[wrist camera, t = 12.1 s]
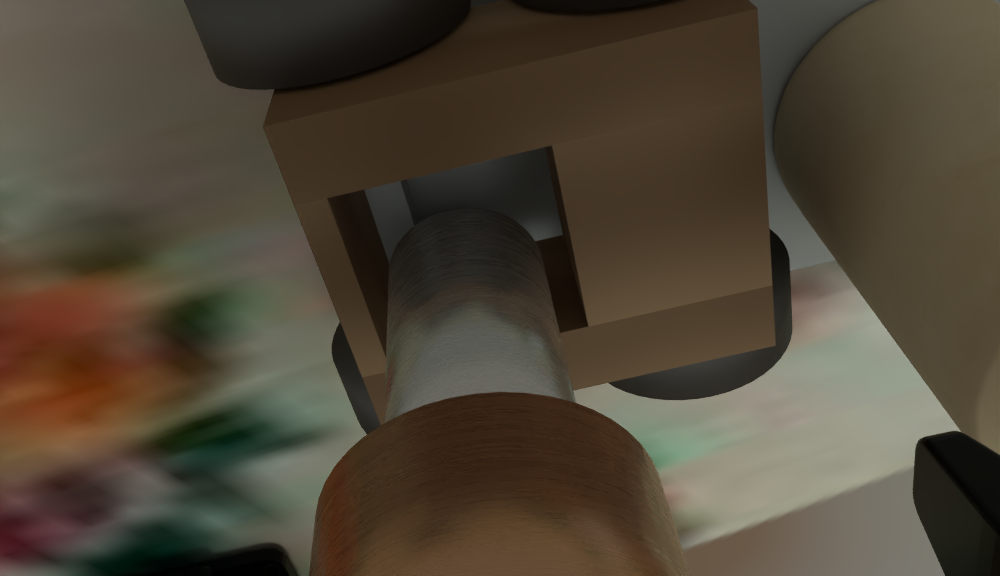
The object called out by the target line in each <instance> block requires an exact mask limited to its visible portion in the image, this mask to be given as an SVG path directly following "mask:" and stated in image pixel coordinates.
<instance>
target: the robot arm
mask: <svg viewBox="0 0 1000 576" xmlns="http://www.w3.org/2000/svg"><path fill="white" fill-rule="evenodd" d="M913 499H914V504H915V507H916V510H917V513H918V516H919V518H920V520H921V522H922V525H923V527H924V529H925V531H926V533H927V536H928V538H929V540H930V543H931V545H932V547H933V549H934V552H935V554H936V556H937V558H938V561H939V563H940V565H941V567H942V569H943V572H944V574H945V576H1000V454H998V453H996V452H995V451H993V450H991V449H990V448H988V447H986V446H985V445H983V444H982V443H980V442H978V441H977V440H975V439H973V438H972V437H970V436H968V435H966V434H965V433H962V432H958V431H950V432H946V433H941V434H936V435H932V436H927V437H923V438H921V439H920V440H919V441H918V443H917V444H916V449H915V463H914V480H913ZM268 565H271V566H268ZM141 576H297V575H296V573H295V571H294V569H293V567H292V565H291V563H290V562H289V560H288V558H287V556H286V555H285V554H284V553H283V552H281V551H279V550H277V549H271V548H270V549H261V550H257V551H252V552H248V553H243V554H238V555H234V556H229V557H224V558H220V559H215V560H211V561H206V562H201V563H197V564H192V565H187V566H183V567H178V568H174V569H169V570H164V571H160V572H155V573H150V574H146V575H141Z"/></svg>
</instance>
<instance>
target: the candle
mask: <svg viewBox="0 0 1000 576" xmlns="http://www.w3.org/2000/svg"><path fill="white" fill-rule="evenodd" d="M774 152H775V157H776V162H777V166H778V169H779V172H780V175H781V178H782V180H783V183H784V186H785V187H786V189H787V191H788V193H789V195H790V196H791V198H792V199H793V201H794V202H795V204H796V205H797V207H798V208H799V210H800V211H801V213H802V214H803V216H804V217H805V218H806V220H807V221H808V223H809V224H810V225H811V227H812V228H813V229H814V231H815V232H816V233H817V235H818V236H819V238H820V239H821V240H822V242H823V243H824V244H825V246H826V247H827V249H828V250H829V251H830V253H831V254H832V255H833V257H834V258H835V259H836V261H837V262H838V264H839V265H840V266H841V268H842V269H843V270H844V272H845V273H846V275H847V276H848V277H849V279H850V280H851V281H852V283H853V284H854V285H855V287H856V288H857V290H858V291H859V292H860V294H861V295H862V296H863V298H864V299H865V301H866V302H867V303H868V305H869V306H870V307H871V309H872V310H873V311H874V313H875V314H876V316H877V317H878V318H879V320H880V321H881V322H882V324H883V325H884V326H885V328H886V329H887V331H888V332H889V333H890V335H891V336H892V337H893V339H894V340H895V342H896V343H897V344H898V346H899V347H900V348H901V350H902V351H903V352H904V354H905V355H906V357H907V358H908V359H909V361H910V362H911V363H912V365H913V366H914V368H915V369H916V370H917V372H918V373H919V374H920V376H921V377H922V378H923V380H924V381H925V383H926V384H927V385H928V387H929V388H930V389H931V391H932V392H933V394H934V395H935V396H936V398H937V399H938V400H939V402H940V403H941V404H942V406H943V407H944V409H945V410H946V411H947V413H948V414H949V415H950V417H951V418H952V420H953V421H954V422H955V424H956V425H957V426H958V428H959V429H960V430H961V432H962V433H965V434H966V435H968V436H970V437H972V438H973V439H975V440H977V441H978V442H980V443H982V444H983V445H985V446H986V447H988V448H990V449H991V450H993V451H995V452H996V453H998V454H1000V4H999V3H997V2H995V1H993V0H877V1H875V2H873V3H871V4H869V5H867V6H865V7H862V8H861V9H859V10H857V11H856V12H854V13H853V14H851V15H849V16H848V17H846V18H845V19H843V20H842V21H841V22H840V23H838V24H837V25H836V26H835V27H833V28H832V29H831V30H829V31H828V32H827V33H826V34H825V35H824V36H823V37H822V38H821V39H820V40H819V41H818V42H817V43H816V44H815V45H814V47H813V48H812V49H811V50H810V51H809V52H808V54H807V55H806V56H805V57H804V59H803V60H802V62H801V63H800V64H799V66H798V67H797V69H796V70H795V72H794V73H793V75H792V77H791V79H790V81H789V83H788V85H787V87H786V89H785V91H784V94H783V97H782V99H781V102H780V105H779V108H778V112H777V117H776V121H775V130H774Z"/></svg>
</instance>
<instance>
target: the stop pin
mask: <svg viewBox="0 0 1000 576" xmlns="http://www.w3.org/2000/svg"><path fill="white" fill-rule="evenodd" d="M309 576H690V573H689V570H688V566H687V563H686V560H685V557H684V553H683V550H682V547H681V544H680V541H679V538H678V534H677V531H676V528H675V525H674V522H673V519H672V515H671V512H670V509H669V506H668V503H667V499H666V496H665V493H664V490H663V487H662V484H661V480H660V477H659V474H658V472H657V470H656V467H655V465H654V463H653V461H652V459H651V457H650V456H649V455H648V453H647V452H646V451H645V449H644V448H643V446H642V445H641V444H640V443H639V442H638V441H637V440H636V439H635V438H634V437H633V436H632V435H631V434H630V433H629V432H628V431H627V430H625V429H624V428H623V427H621V426H620V425H619V424H617V423H616V422H614V421H613V420H612V419H610V418H608V417H606V416H604V415H602V414H600V413H598V412H597V411H595V410H593V409H590V408H587V407H585V406H582V405H579V404H577V403H576V401H575V397H574V392H573V388H572V384H571V379H570V375H569V371H568V366H567V362H566V358H565V354H564V349H563V345H562V341H561V336H560V332H559V328H558V323H557V319H556V315H555V311H554V306H553V302H552V298H551V293H550V289H549V285H548V280H547V276H546V272H545V268H544V263H543V259H542V256H541V252H540V250H539V247H538V245H537V243H536V242H535V240H534V239H533V237H532V236H531V234H530V233H529V232H528V231H527V230H526V229H525V228H524V227H523V226H521V225H520V224H519V223H518V222H516V221H515V220H513V219H511V218H510V217H508V216H505V215H503V214H501V213H498V212H495V211H492V210H488V209H482V208H470V207H468V208H456V209H450V210H446V211H442V212H439V213H436V214H434V215H431V216H429V217H427V218H425V219H424V220H422V221H420V222H419V223H417V224H416V225H415V226H413V227H412V228H411V229H410V230H409V231H408V232H407V233H406V234H405V235H404V236H403V237H402V239H401V240H400V241H399V243H398V244H397V246H396V248H395V250H394V252H393V254H392V257H391V260H390V265H389V275H388V309H387V344H386V378H385V413H384V424H382V425H380V426H379V427H378V428H376V429H375V430H373V431H372V432H370V433H369V434H367V435H366V436H364V437H363V438H362V439H361V440H360V441H359V442H358V443H356V444H355V445H354V446H353V447H352V448H351V449H350V450H349V451H348V452H347V453H346V454H345V455H344V456H343V457H342V459H341V460H340V461H339V462H338V463H337V465H336V466H335V467H334V469H333V470H332V472H331V474H330V475H329V477H328V479H327V480H326V482H325V484H324V487H323V489H322V492H321V494H320V497H319V500H318V505H317V510H316V516H315V525H314V534H313V544H312V553H311V562H310V572H309Z"/></svg>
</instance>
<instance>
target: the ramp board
mask: <svg viewBox="0 0 1000 576" xmlns="http://www.w3.org/2000/svg"><path fill="white" fill-rule="evenodd" d="M497 1H501V0H471V6H470V8H473V7H477V6H481V5H485V4H489V3H493V2H497ZM749 1H750V2H751V3H752V4H754V5H755V6H756V7H757V8H758V26H759V45H760V63H761V82H762V101H763V119H764V138H765V156H766V175H767V193H768V212H769V228H770V229H771V230H772V231H773V232H774V233H776V234H777V235H778V236H779V238H780V239H781V240H782V241H783V243H784V245H785V246H786V248H787V251H788V254H789V258H790V271H791V270H796V269H800V268H805V267H809V266H813V265H818V264H822V263H827V262H831V261H836V259H835V258H834V257H833V255H832V254H831V253H830V251H829V250H828V249H827V247H826V246H825V244H824V243H823V242H822V240H821V239H820V238H819V236H818V235H817V233H816V232H815V231H814V229H813V228H812V227H811V225H810V224H809V223H808V221H807V220H806V218H805V217H804V216H803V214H802V213H801V211H800V210H799V208H798V207H797V205H796V204H795V202H794V201H793V199H792V198H791V196H790V195H789V193H788V191H787V189H786V187H785V186H784V183H783V180H782V178H781V175H780V172H779V169H778V166H777V162H776V157H775V152H774V130H775V121H776V117H777V112H778V108H779V105H780V102H781V99H782V97H783V94H784V91H785V89H786V87H787V85H788V83H789V81H790V79H791V77H792V75H793V73H794V72H795V70H796V69H797V67H798V66H799V64H800V63H801V62H802V60H803V59H804V57H805V56H806V55H807V54H808V52H809V51H810V50H811V49H812V48H813V47H814V45H815V44H816V43H817V42H818V41H819V40H820V39H821V38H822V37H823V36H824V35H825V34H826V33H827V32H828V31H829V30H831V29H832V28H833V27H835V26H836V25H837V24H838V23H840V22H841V21H842V20H843V19H845V18H846V17H848V16H849V15H851V14H853V13H854V12H856V11H857V10H859V9H861V8H862V7H865V6H867V5H869V4H871V3H873V2H875V1H877V0H749ZM993 1H995V2H997V3H999V4H1000V0H993ZM364 191H365V194H366V196H367V199H368V202H369V205H370V208H371V211H372V214H373V217H374V220H375V223H376V226H377V229H378V232H379V235H380V237H381V240H382V243H383V246H384V249H385V252H386V255H387V258H388V261H389V264H390V260H391V257H392V254H393V252H394V250H395V248H396V246H397V244H398V243H399V241H400V240H401V239H402V237H403V236H404V235H405V234H406V233H407V232H408V231H409V230H410V229H411V228H412V227H413V226H415V225H416V224H417V223H419V222H420V221H422V220H424V219H425V218H427V217H429V216H431V215H434V214H436V213H439V212H442V211H446V210H450V209H456V208H468V207H470V208H482V209H488V210H492V211H495V212H498V213H501V214H503V215H505V216H508V217H510V218H511V219H513V220H515V221H516V222H518V223H519V224H520V225H521V226H523V227H524V228H525V229H526V230H527V231H528V232H529V233H530V234H531V236H532V237H533V239H534V240H535V241H539V240H543V239H547V238H552V237H556V236H560V235H563V233H562V228H561V223H560V218H559V214H558V209H557V204H556V199H555V194H554V189H553V184H552V180H551V175H550V170H549V165H548V160H547V155H546V151H545V147H543V148H539V149H535V150H530V151H526V152H522V153H518V154H513V155H509V156H505V157H501V158H496V159H492V160H488V161H484V162H479V163H475V164H471V165H467V166H462V167H458V168H454V169H450V170H445V171H441V172H437V173H432V174H428V175H424V176H420V177H415V178H411V179H407V180H403V181H398V182H394V183H390V184H386V185H381V186H377V187H373V188H369V189H364Z"/></svg>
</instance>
